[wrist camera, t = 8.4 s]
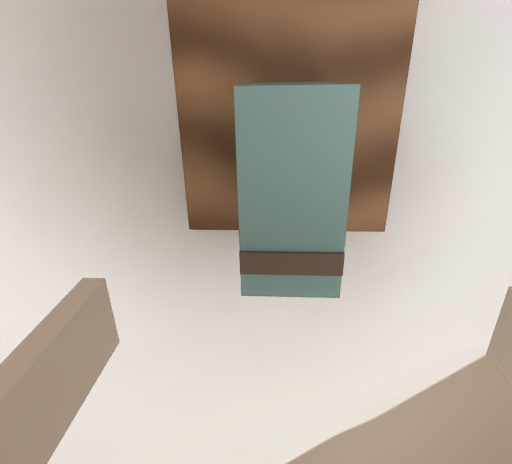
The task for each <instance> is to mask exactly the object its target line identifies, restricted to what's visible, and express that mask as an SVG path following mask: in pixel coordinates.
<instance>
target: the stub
mask: <svg viewBox="0 0 512 464" xmlns="http://www.w3.org/2000/svg"><path fill="white" fill-rule="evenodd" d="M360 86H361V84H352V83H340V82H328V81H316V82H252V83H247V84H241V85H236V86H234V106H235V133H236V161H237V188H238V215H239V242H240V252H239V256H240V274H241V296H278V297H324V298H339V297H340V286H341V276H342V275H343V265H344V256H345V254H344V246H345V236H346V226H347V216H348V206H349V196H350V186H351V176H352V166H353V156H354V146H355V136H356V126H357V116H358V106H359V96H360Z"/></svg>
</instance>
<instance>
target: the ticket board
mask: <svg viewBox="0 0 512 464" xmlns="http://www.w3.org/2000/svg"><path fill="white" fill-rule="evenodd" d="M418 3H419V0H167V8H168V18H169V28H170V38H171V48H172V58H173V68H174V78H175V88H176V98H177V108H178V118H179V128H180V138H181V148H182V158H183V168H184V178H185V188H186V199H187V209H188V219H189V229H192V230H239V215H238V188H237V161H236V133H235V106H234V86H236V85H241V84H247V83H252V82H316V81H328V82H340V83H352V84H361V86H360V96H359V106H358V116H357V126H356V136H355V146H354V156H353V166H352V176H351V186H350V196H349V206H348V216H347V226H346V231H377V232H384V231H385V225H386V218H387V211H388V205H389V198H390V191H391V184H392V178H393V171H394V164H395V157H396V151H397V144H398V137H399V131H400V124H401V117H402V110H403V104H404V97H405V90H406V83H407V77H408V70H409V63H410V56H411V50H412V43H413V36H414V30H415V23H416V16H417V9H418Z"/></svg>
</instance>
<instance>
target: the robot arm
mask: <svg viewBox="0 0 512 464" xmlns="http://www.w3.org/2000/svg"><path fill="white" fill-rule="evenodd" d="M118 343H119V338H118V334H117V329H116V325H115V320H114V316H113V312H112V307H111V303H110V298H109V294H108V290H107V285H106V281H105V278H83V279H82V280H81V281H80V282H79V283H78V284H77V285H76V286H75V287H74V288H73V289H72V290H71V291H70V292H69V293H68V294H67V295H66V296H65V297H64V298H63V299H62V300H61V302H60V303H59V304H58V305H57V306H56V307H55V308H54V309H53V310H52V311H51V312H50V313H49V314H48V315H47V316H46V317H45V318H44V319H43V320H42V321H41V322H40V323H39V324H38V325H37V327H36V328H35V329H34V330H33V331H32V332H31V333H30V334H29V335H28V336H27V337H26V338H25V339H24V340H23V341H22V342H21V343H20V344H19V345H18V346H17V347H16V348H15V349H14V350H13V352H12V353H11V354H10V355H9V356H8V357H7V358H6V359H5V360H4V361H3V362H2V363H1V364H0V464H47V463H48V461H49V459H50V457H51V456H52V454H53V452H54V451H55V449H56V447H57V446H58V444H59V442H60V441H61V439H62V437H63V436H64V434H65V432H66V431H67V429H68V427H69V426H70V424H71V422H72V421H73V419H74V417H75V416H76V414H77V412H78V410H79V409H80V407H81V405H82V404H83V402H84V400H85V399H86V397H87V395H88V394H89V392H90V390H91V389H92V387H93V385H94V384H95V382H96V380H97V379H98V377H99V375H100V374H101V372H102V370H103V369H104V367H105V365H106V363H107V362H108V360H109V358H110V357H111V355H112V353H113V352H114V350H115V348H116V347H117V345H118ZM486 354H487V355H488V357H489V358H490V359H491V361H492V362H493V363H494V365H495V366H496V368H497V369H498V370H499V372H500V373H501V374H502V376H503V377H504V378H505V380H506V381H507V382H508V384H509V385H510V386H511V388H512V287H509V288H508V291H507V294H506V297H505V300H504V303H503V306H502V308H501V311H500V314H499V317H498V320H497V323H496V326H495V329H494V332H493V335H492V338H491V341H490V344H489V347H488V350H487V353H486Z"/></svg>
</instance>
